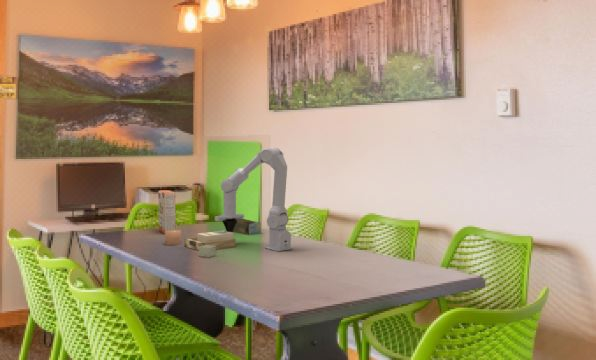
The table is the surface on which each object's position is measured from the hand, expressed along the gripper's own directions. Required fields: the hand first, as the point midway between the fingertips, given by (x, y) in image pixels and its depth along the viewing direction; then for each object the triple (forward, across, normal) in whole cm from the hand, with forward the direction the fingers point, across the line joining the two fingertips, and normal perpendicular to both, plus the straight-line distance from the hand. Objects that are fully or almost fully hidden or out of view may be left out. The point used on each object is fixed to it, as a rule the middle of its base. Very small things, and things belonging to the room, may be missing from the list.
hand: (229, 235), depth 262 cm
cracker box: (+4, +7, -46) cm, 47 cm away
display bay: (+4, +10, 0) cm, 11 cm away
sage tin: (+4, +22, +16) cm, 27 cm away
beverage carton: (+4, -24, -23) cm, 34 cm away
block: (+4, +20, -16) cm, 26 cm away
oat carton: (+4, +8, +1) cm, 9 cm away
